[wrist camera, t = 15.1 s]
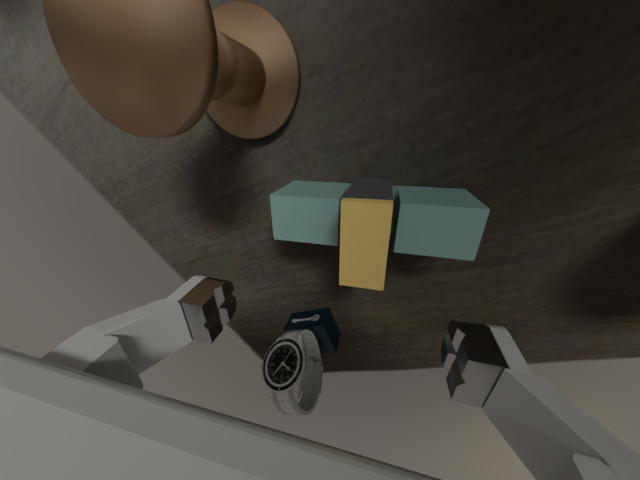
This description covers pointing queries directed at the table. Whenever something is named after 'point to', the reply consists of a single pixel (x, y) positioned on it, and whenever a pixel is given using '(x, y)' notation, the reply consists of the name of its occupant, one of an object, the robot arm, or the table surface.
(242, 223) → the table surface
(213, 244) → the table surface
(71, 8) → the bobbin
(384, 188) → the yellow and black block
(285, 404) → the watch
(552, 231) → the table surface
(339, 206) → the notch board
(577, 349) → the table surface
